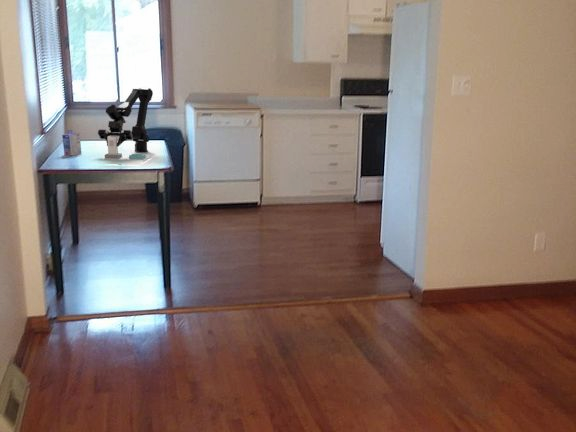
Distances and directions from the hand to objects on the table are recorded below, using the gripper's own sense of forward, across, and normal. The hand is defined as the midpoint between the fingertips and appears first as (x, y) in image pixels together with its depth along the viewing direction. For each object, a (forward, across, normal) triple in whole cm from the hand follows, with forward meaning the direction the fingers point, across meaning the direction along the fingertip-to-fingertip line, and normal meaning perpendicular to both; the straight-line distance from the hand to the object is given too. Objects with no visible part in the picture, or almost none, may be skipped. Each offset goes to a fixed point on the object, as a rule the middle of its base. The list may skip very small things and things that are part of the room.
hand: (112, 146), depth 349 cm
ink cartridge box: (-4, -29, +15) cm, 33 cm away
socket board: (+5, +7, +6) cm, 10 cm away
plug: (+4, 0, +5) cm, 7 cm away
